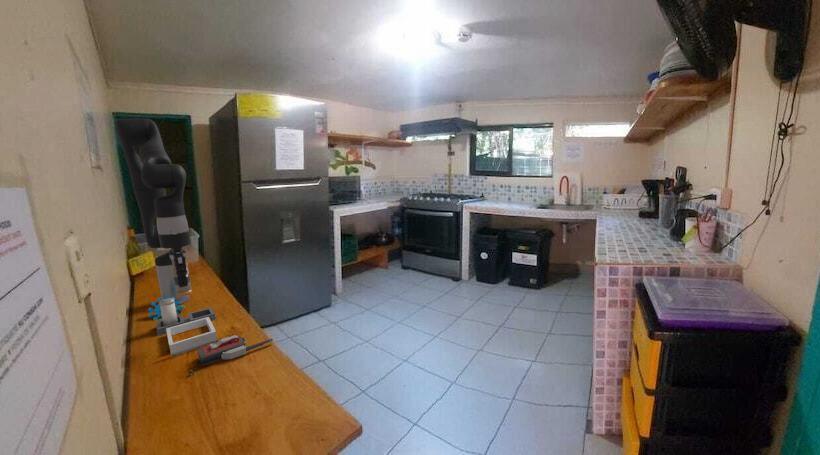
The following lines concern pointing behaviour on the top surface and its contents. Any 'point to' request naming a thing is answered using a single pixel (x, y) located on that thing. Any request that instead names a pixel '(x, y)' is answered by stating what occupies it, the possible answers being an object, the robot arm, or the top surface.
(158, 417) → the top surface
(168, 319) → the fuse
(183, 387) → the top surface
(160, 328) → the fuse block
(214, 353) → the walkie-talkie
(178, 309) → the gear
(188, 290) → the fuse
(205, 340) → the parts tray
